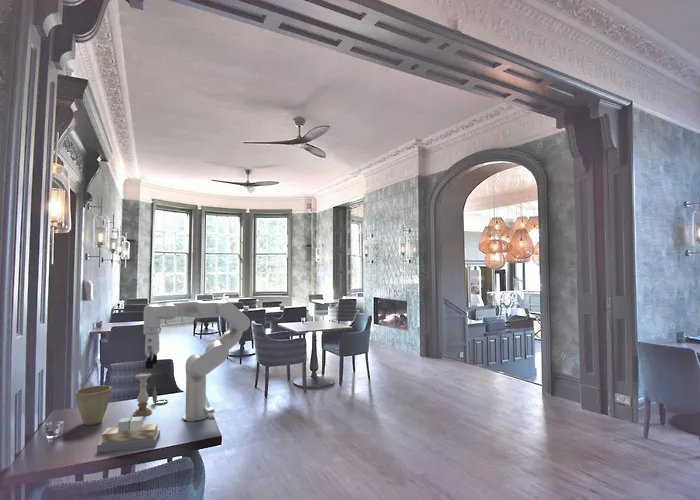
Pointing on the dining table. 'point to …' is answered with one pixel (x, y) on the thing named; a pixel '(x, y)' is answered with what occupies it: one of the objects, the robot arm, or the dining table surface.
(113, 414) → the dining table surface
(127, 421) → the pale green block
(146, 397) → the candle holder
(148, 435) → the tan piece
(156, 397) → the pocket watch
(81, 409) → the plant pot
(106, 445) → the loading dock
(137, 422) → the block
